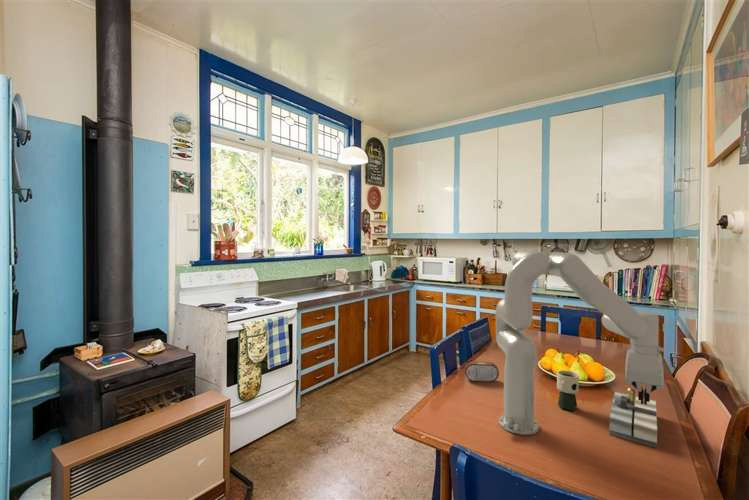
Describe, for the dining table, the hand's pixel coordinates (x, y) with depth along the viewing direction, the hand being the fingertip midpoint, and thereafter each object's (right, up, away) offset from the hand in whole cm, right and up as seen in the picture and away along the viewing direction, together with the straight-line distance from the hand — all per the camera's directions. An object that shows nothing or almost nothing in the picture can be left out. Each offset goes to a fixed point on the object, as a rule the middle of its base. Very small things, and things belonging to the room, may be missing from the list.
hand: (643, 402), depth 118 cm
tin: (-42, -8, +40) cm, 59 cm away
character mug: (-18, -8, +14) cm, 24 cm away
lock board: (-2, -8, +2) cm, 9 cm away
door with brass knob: (-4, -2, +3) cm, 6 cm away
